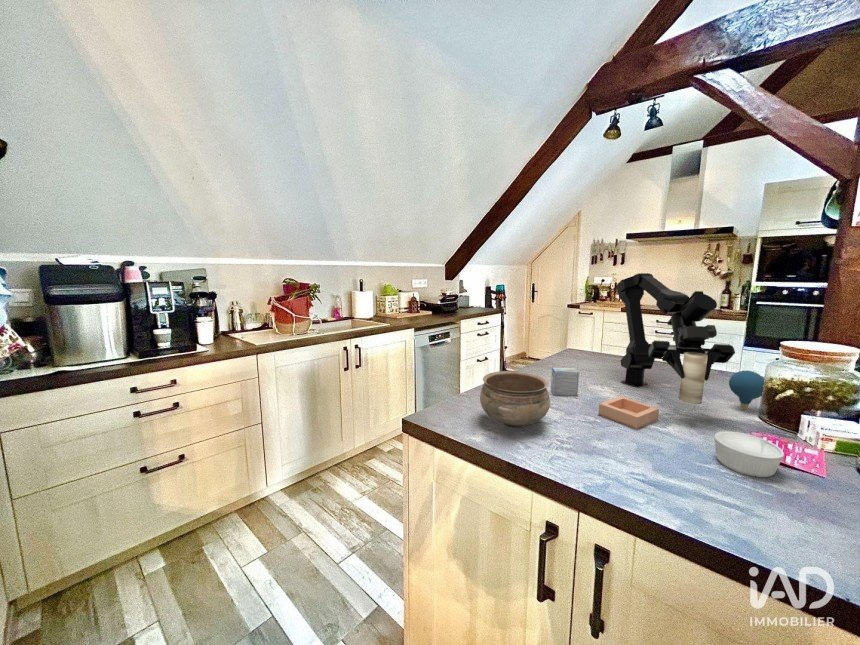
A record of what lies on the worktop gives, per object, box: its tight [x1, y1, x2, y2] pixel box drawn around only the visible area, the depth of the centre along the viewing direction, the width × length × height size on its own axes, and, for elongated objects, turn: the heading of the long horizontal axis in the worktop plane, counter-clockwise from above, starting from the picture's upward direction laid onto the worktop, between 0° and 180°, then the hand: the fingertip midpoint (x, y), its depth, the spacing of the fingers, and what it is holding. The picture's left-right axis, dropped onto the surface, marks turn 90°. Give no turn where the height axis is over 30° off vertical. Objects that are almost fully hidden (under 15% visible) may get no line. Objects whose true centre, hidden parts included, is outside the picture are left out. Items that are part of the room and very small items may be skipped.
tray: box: [598, 395, 660, 430], centre depth 100 cm, size 11×11×4 cm
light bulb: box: [728, 370, 766, 411], centre depth 104 cm, size 8×8×12 cm
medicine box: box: [550, 367, 580, 397], centre depth 118 cm, size 8×4×9 cm, turn 84°
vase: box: [678, 352, 708, 405], centre depth 94 cm, size 5×5×13 cm
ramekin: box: [713, 431, 785, 478], centre depth 76 cm, size 11×11×5 cm
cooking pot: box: [479, 370, 551, 428], centre depth 97 cm, size 25×19×12 cm
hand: (694, 378), depth 93 cm, fingers closed on vase, 5 cm apart
